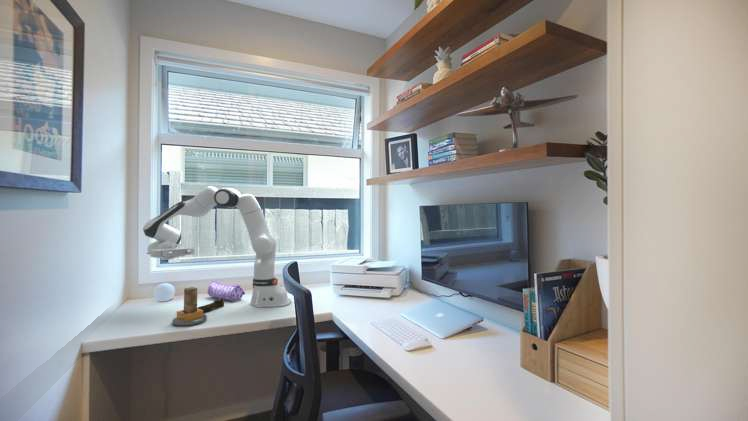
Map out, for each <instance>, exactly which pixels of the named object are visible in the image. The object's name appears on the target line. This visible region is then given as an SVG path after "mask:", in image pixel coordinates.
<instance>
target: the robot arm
mask: <svg viewBox="0 0 748 421" xmlns="http://www.w3.org/2000/svg"><path fill="white" fill-rule="evenodd" d="M217 205H218V206H219V207H221V208H229V209H230V208H232V209H233V208H237V209H238V210H239V212H240V216H241V217H242V219H243V222H244V224H245V227H246V229H247V232H248V238H249V240H250V244H251V246H252V250H253V251H254V253H255V258H254V264H253V277H252V294H251V300H250V303H249V304H250V306H254V307H255V308H270V307H272V308H274V307H286V306H288V305H290V304H291V303H292V299H291V298H290V297H288V291H287V290H286V289H285V288H283V287H282V286H280V285H279V284H278V281H279V279H278V277H277V278H276V277H275V261H276V253H277V252H276V251H277V250H276V249H277V239H276V237H275V236H273V235H272V234H270V233H271V232H270V230H269V227H268V224H267V222H268V221H267V220H266V217H265V215H264V213H263V210H262V208H261V206H260V203H259V202H258V200H257V199H256V197H255V196H254V195H253V194H251V193H244V194H243V193H242V192H241V191H240V190H238V189H237V188H236V189H235V188H231V187H222V188H217V187H214V186H211V185H209V186H207V187H205V188H203V189H201V191H199V192H198V193H197V194H195V196H193V197H192V198H190V199H188V200H185V201H179V202H177V203H175V204H174V205H172V206H171V207H169V208H168V209H167V210H165V211H164V212H161V214H159V215H158V216H156V217H154V218H152V219H150V220H148V221H147V222H146V223H145V225H144V226H143V228H142V229H143V234H144V235H145V237H148V238H151V239H154V240H156V241H153V242H151V243H149V245H148V246H147V251H146V254H147V255H149V256H150V257H151V258H155V259H161V260H167V261H169V260H172V259H175V258H181V257H184V256H189V255H190V256H191V255H194V254H195V252H196V251H195V247H194V246H190V245H186V244H182V243H181V241H182V233H181V231H180V230H178V229H176V228H175V227H172V226H170V225H168V224H167V222H169V221H170V220H172V219H173V218H175V217H176V216H189V217H192V218H193V217H194V218H200V217H204V216H206V215H208V213H210V211H212V209H213V208H215V206H217Z"/></svg>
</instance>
